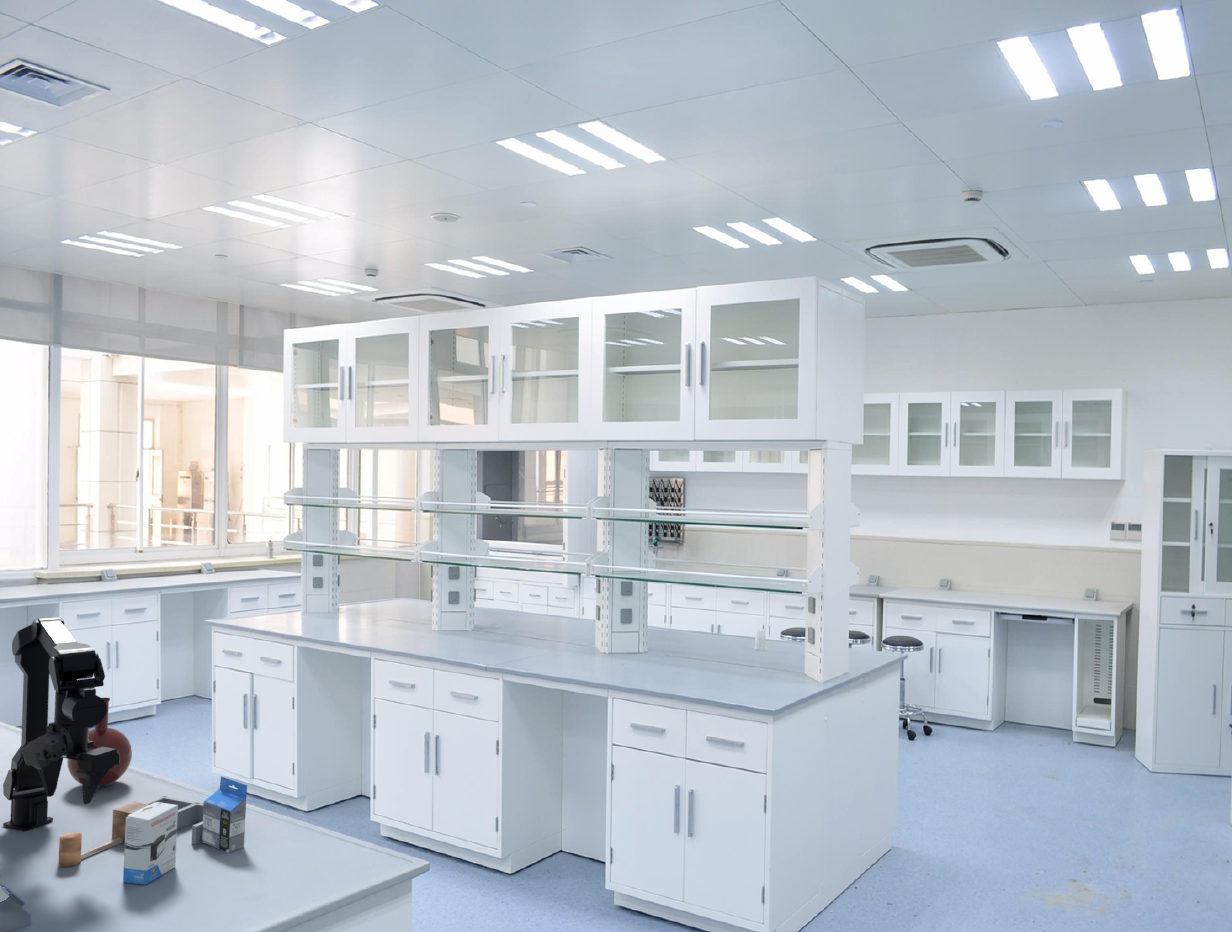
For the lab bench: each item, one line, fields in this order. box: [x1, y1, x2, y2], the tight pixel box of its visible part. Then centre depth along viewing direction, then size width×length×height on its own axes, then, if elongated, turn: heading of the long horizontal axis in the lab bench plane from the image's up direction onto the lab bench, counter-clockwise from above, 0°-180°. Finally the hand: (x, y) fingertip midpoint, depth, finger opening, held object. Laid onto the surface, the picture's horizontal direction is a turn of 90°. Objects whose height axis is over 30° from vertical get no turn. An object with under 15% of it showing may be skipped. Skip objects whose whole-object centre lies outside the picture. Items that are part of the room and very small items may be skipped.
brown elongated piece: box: [58, 801, 148, 868], centre depth 182 cm, size 5×18×6 cm, turn 159°
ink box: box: [122, 802, 178, 886], centre depth 171 cm, size 8×5×12 cm, turn 168°
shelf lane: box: [143, 795, 204, 845], centre depth 194 cm, size 19×10×4 cm, turn 70°
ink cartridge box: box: [202, 776, 248, 854], centre depth 186 cm, size 9×4×12 cm, turn 57°
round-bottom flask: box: [66, 697, 133, 788], centre depth 217 cm, size 13×13×20 cm
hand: (68, 799), depth 175 cm, fingers open, 9 cm apart
